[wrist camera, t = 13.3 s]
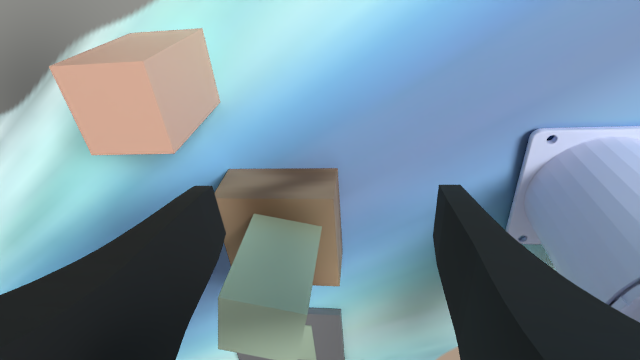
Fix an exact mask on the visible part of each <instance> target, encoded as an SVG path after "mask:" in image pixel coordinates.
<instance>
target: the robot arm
mask: <svg viewBox="0 0 640 360" xmlns="http://www.w3.org/2000/svg"><path fill="white" fill-rule="evenodd" d="M551 135H554V138H553V139H551V140H549V141H547V138H548V137H549V136H551ZM225 235H226V231H225V228H224V224H223V221H222V217H221V214H220V211H219V207H218V204H217V200H216V197H215V194H214V190H213V187H212V186H194V187H192V188H191V189H189V190H187V191H186V192H184V193H183V194H181V195H180V196H178V197H177V198H175V199H174V200H173V201H171V202H170V203H168V204H167V205H165V206H164V207H163V208H161V209H160V210H158V211H157V212H155V213H154V214H153V215H151V216H150V217H148V218H147V219H145V220H144V221H142V222H141V223H139V224H138V225H136V226H135V227H133V228H132V229H130V230H128V231H127V232H125V233H124V234H122V235H121V236H119V237H118V238H116V239H115V240H113V241H111V242H110V243H108V244H106V245H105V246H103V247H101V248H99V249H98V250H96V251H94V252H92V253H90V254H88V255H87V256H85V257H83V258H81V259H79V260H77V261H75V262H73V263H72V264H69V265H67V266H65V267H63V268H61V269H59V270H57V271H55V272H53V273H50V274H48V275H46V276H44V277H42V278H40V279H38V280H36V281H33V282H31V283H29V284H26V285H24V286H21V287H19V288H17V289H14V290H12V291H9V292H7V293H4V294H2V295H0V360H176V357H177V354H178V351H179V348H180V345H181V342H182V340H183V337H184V334H185V331H186V329H187V326H188V324H189V322H190V319H191V317H192V315H193V313H194V311H195V309H196V306H197V304H198V302H199V300H200V298H201V296H202V294H203V292H204V289H205V287H206V285H207V283H208V281H209V279H210V277H211V274H212V272H213V270H214V268H215V266H216V263H217V261H218V259H219V256H220V252H221V249H222V246H223V242H224V239H225ZM520 236H523V237H521V238H519V237H520ZM433 240H434V247H435V255H436V262H437V267H438V271H439V275H440V278H441V282H442V286H443V290H444V293H445V297H446V301H447V304H448V308H449V312H450V315H451V319H452V323H453V326H454V330H455V334H456V339H457V343H458V348H459V354H460V359H461V360H640V126H617V127H576V128H541V129H537V130H535V131H533V132H532V133H531V135H530V137H529V141H528V145H527V149H526V153H525V156H524V160H523V164H522V168H521V172H520V176H519V180H518V184H517V188H516V192H515V195H514V199H513V203H512V207H511V211H510V215H509V219H508V223H507V227H506V231H505V230H504V229H503V228H502V227H501V226H500V225H499V224H498V223H497V222H496V221H495V220H494V219H493V218H492V217H491V216H490V215H489V214H488V213H487V212H486V211H485V210H484V209H483V208H482V207H481V206H480V205H479V204H478V203H477V202H476V201H475V200H474V199H473V198H472V197H471V196H470V194H469V193H468V192H467V191H466V190H465V189H464V188H463V187H462V186H461V185H439V189H438V197H437V206H436V215H435V223H434V232H433ZM521 244H542V246H543V247H544V249H545V251H546V253H547V254H548V256H549V258H550V260H551V262H552V263H553V265H554V267H555V269H556V271H557V272H556V271H555V270H554V269H552V268H551V267H550V266H548V265H547V264H545V263H544V262H543V261H541V260H540V259H539V258H537V257H536V256H535V255H534V254H532V253H531V252H530V251H529V250H527V249H526V248H525V247H524V246H523V245H521Z"/></svg>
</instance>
